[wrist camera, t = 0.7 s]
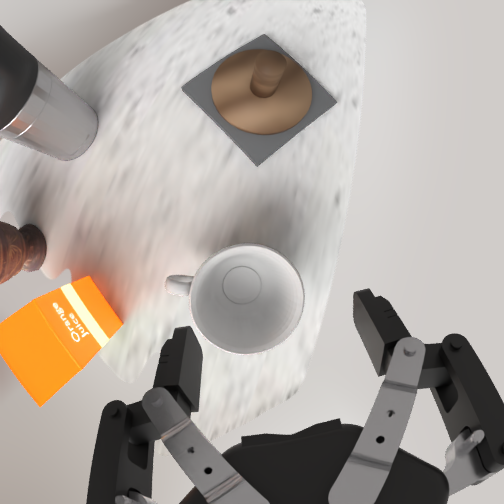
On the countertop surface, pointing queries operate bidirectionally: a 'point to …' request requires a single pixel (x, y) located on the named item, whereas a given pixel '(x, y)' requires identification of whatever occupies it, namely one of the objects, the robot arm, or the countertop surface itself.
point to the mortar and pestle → (20, 250)
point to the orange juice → (56, 336)
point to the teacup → (243, 298)
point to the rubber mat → (249, 143)
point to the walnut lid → (261, 92)
